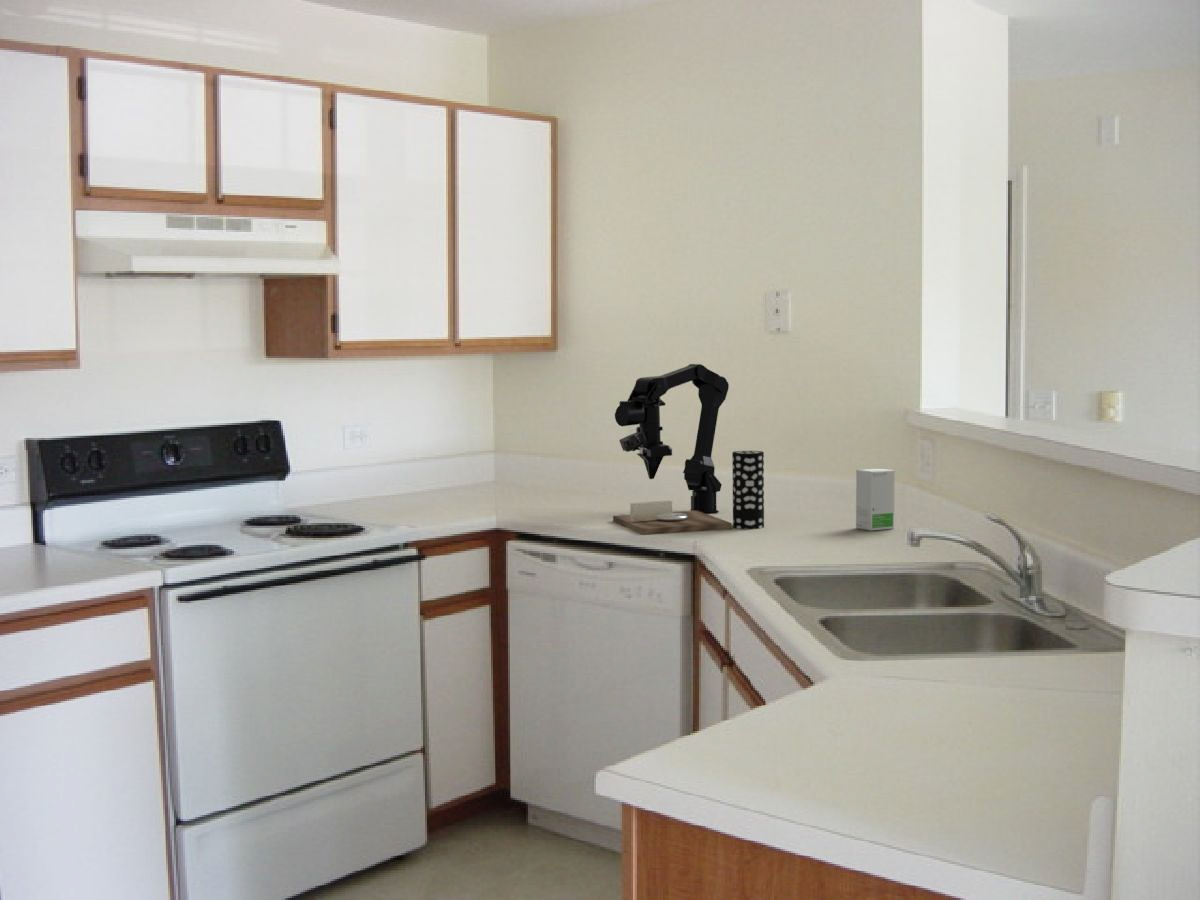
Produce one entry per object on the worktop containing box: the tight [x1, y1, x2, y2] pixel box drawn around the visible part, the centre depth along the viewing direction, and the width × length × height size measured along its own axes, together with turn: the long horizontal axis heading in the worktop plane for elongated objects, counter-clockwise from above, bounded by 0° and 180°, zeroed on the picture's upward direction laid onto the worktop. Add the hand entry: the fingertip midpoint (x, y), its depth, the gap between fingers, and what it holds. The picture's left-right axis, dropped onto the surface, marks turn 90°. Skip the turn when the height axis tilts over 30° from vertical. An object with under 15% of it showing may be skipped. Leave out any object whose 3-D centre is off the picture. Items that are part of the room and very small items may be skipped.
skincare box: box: [855, 468, 895, 532], centre depth 344 cm, size 8×7×16 cm
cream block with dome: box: [629, 499, 688, 522], centre depth 355 cm, size 16×9×5 cm, turn 111°
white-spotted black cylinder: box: [732, 450, 765, 530], centre depth 350 cm, size 8×8×20 cm
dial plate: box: [612, 510, 733, 536], centre depth 356 cm, size 25×25×2 cm
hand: (651, 479), depth 364 cm, fingers closed
